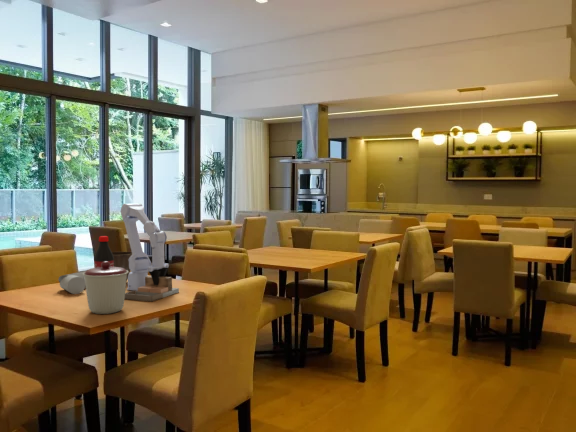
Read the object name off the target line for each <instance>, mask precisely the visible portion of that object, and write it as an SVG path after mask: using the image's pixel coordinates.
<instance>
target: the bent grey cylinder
mask: <svg viewBox="0 0 576 432" xmlns="http://www.w3.org/2000/svg"><path fill="white" fill-rule="evenodd" d="M86 271H87V270H83V271H77V272H73V273H69V274H64V275H60V276H59V277H58V282H59V286H60V288H61V289H63V290H65V291H66V292H68V293H70V294H72V295H77V294H78V295H79V294H81V293H82V292H83V291H84V290H85V289H86V286H85V278H84V276H83V275H82V274H83V273H84V272H86Z"/></svg>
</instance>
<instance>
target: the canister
mask: <svg viewBox="0 0 576 432" xmlns="http://www.w3.org/2000/svg"><path fill="white" fill-rule="evenodd" d="M101 266H102V267H98V268H94V267H93V268H90V269H89V268H88V269H87V270H85V271H86V272H84V273H83V274H82V275H83V276H84V278H85V286H86V287H85V292H86V299H87V304H88V309H89V311H90V312H91V313H93V314H96V315H97V314H98V315H107V314H108V315H109V314H115V313H118V312H120V311H122V309H123V308H124V306H125V305H124V304H125V300H126V299H125V293H126V290H127V282H126V280H127V281H128V279H127V274H128V272H129V271H127V270H125V269H124V268H121V267H110V263H109V262H108V261H104V262H102V263H101Z"/></svg>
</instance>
